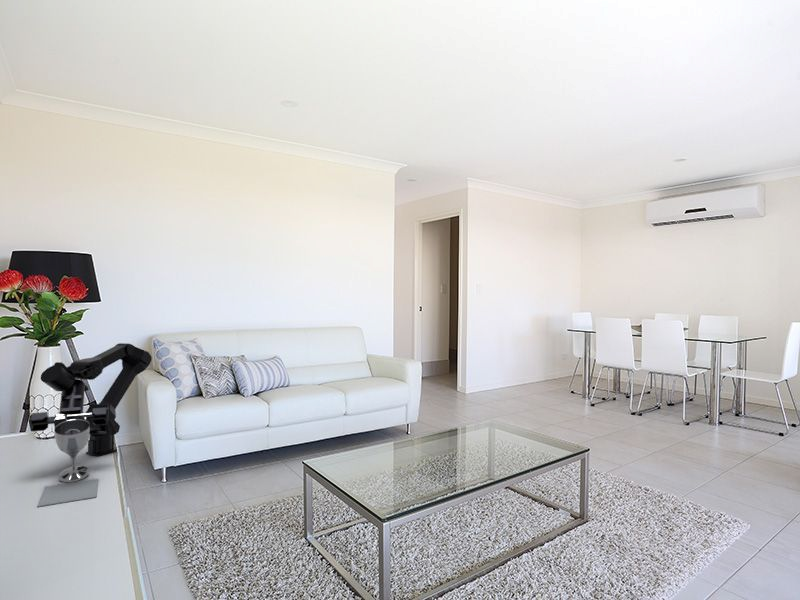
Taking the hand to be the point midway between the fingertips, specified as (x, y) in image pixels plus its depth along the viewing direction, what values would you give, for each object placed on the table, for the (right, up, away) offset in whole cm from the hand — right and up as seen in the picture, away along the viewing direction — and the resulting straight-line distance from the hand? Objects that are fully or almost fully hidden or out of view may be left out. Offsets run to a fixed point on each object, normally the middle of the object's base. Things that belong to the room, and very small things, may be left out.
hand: (67, 445), depth 133 cm
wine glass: (+1, -8, +1) cm, 8 cm away
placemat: (+7, -9, -9) cm, 15 cm away
